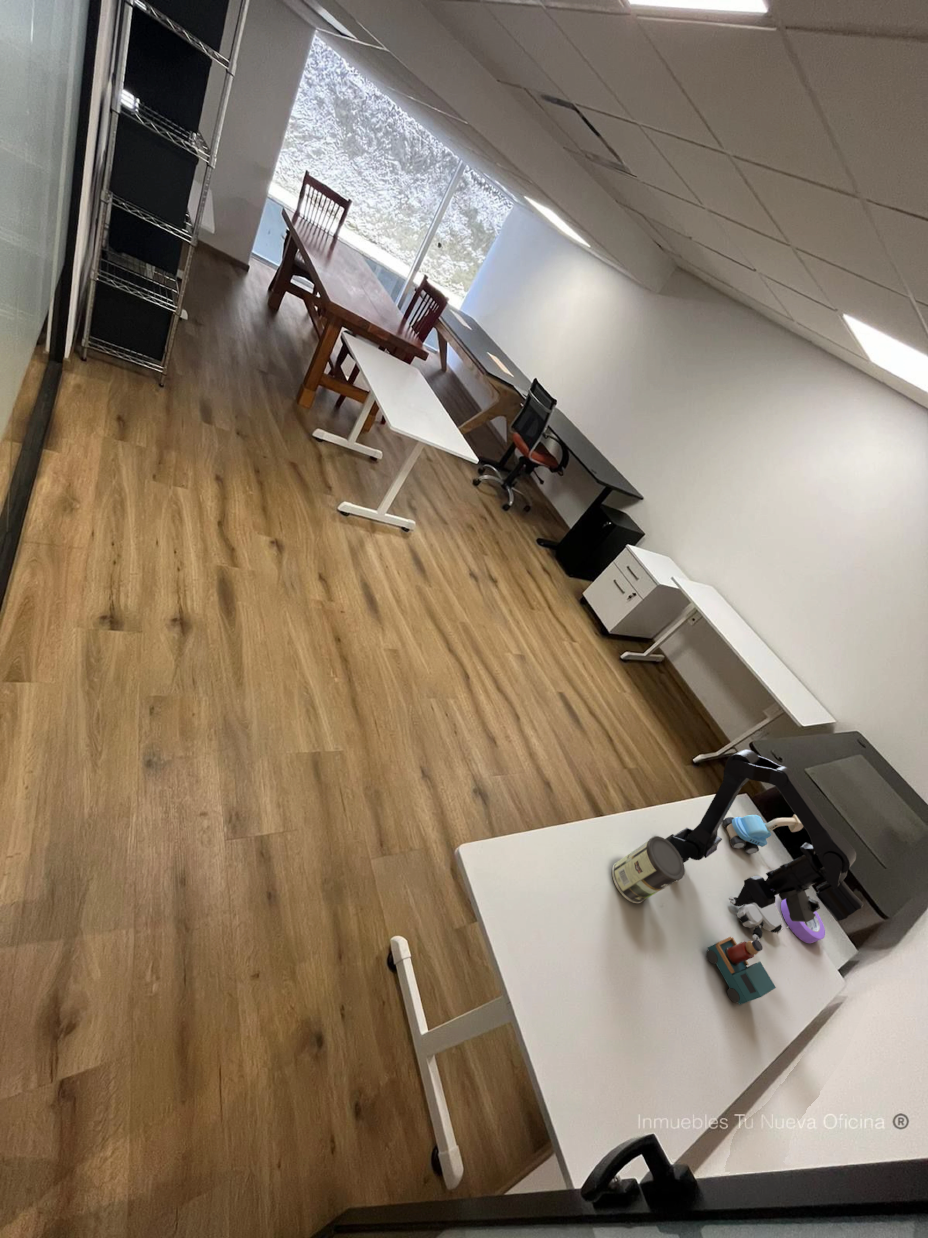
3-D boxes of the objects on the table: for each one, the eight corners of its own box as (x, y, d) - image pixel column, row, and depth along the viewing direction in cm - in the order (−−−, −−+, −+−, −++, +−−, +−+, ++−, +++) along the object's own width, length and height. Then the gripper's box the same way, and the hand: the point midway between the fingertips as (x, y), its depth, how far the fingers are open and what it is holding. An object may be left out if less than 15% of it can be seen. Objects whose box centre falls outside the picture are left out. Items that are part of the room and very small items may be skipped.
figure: (725, 960, 126) (753, 948, 121) (724, 944, 129) (751, 932, 124) (738, 969, 126) (766, 957, 121) (737, 954, 129) (764, 942, 124)
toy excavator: (766, 861, 167) (813, 836, 157) (727, 847, 162) (772, 820, 152) (755, 835, 173) (799, 810, 164) (717, 821, 169) (760, 794, 159)
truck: (702, 950, 129) (726, 938, 125) (718, 942, 134) (742, 931, 129) (734, 1007, 122) (760, 997, 118) (750, 997, 127) (776, 987, 122)
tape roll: (821, 941, 153) (832, 936, 151) (799, 946, 147) (811, 941, 145) (794, 898, 161) (805, 893, 158) (773, 901, 155) (783, 896, 153)
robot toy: (749, 949, 138) (779, 931, 147) (762, 943, 136) (791, 926, 144) (719, 900, 145) (748, 886, 154) (731, 894, 143) (760, 880, 151)
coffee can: (651, 890, 135) (691, 866, 127) (633, 912, 127) (674, 888, 119) (623, 854, 139) (660, 829, 131) (604, 872, 131) (642, 847, 124)
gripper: (806, 920, 112) (748, 944, 121) (843, 903, 122) (787, 926, 131) (771, 866, 119) (718, 893, 127) (809, 854, 129) (758, 880, 138)
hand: (747, 899), depth 131 cm, fingers open, 9 cm apart
